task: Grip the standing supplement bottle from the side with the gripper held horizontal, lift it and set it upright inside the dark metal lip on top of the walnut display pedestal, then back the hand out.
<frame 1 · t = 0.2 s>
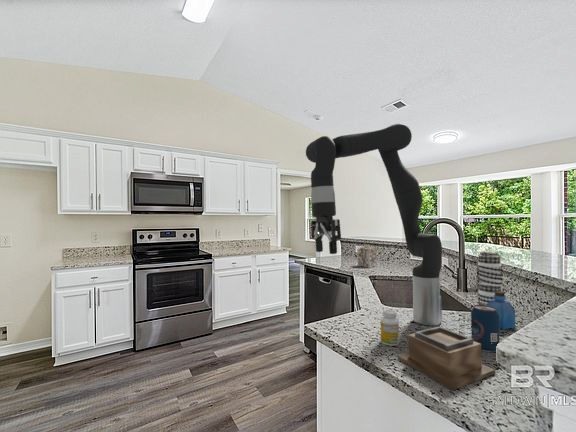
hand: (326, 252, 89), 28 cm above the counter, tool pointing down, fingers open, 8 cm apart
decorative jar: (367, 266, 239), on the counter
soda can: (485, 348, 85), on the counter
display pedestal: (443, 366, 74), on the counter
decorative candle: (490, 312, 118), on the counter
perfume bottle: (500, 325, 103), on the counter
supplement bottle: (389, 343, 89), on the counter
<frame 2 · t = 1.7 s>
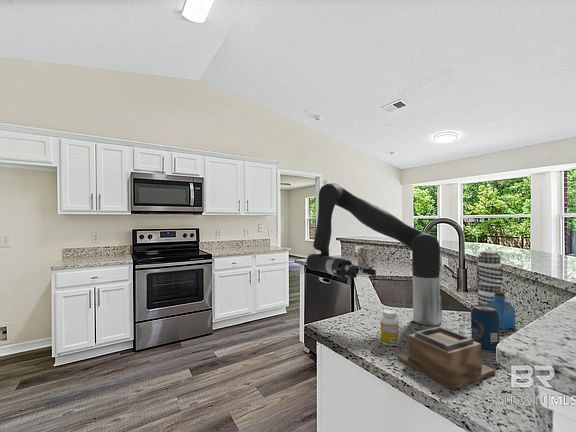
hand: (365, 273, 99), 20 cm above the counter, tool horizontal, fingers open, 8 cm apart
nothing on the counter moved.
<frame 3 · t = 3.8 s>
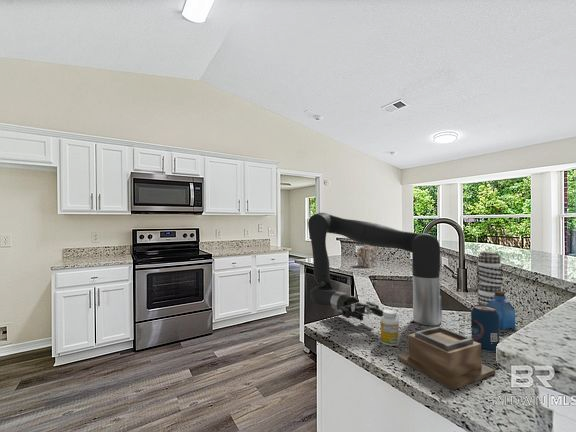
hand: (372, 315, 96), 6 cm above the counter, tool horizontal, fingers open, 8 cm apart
nothing on the counter moved.
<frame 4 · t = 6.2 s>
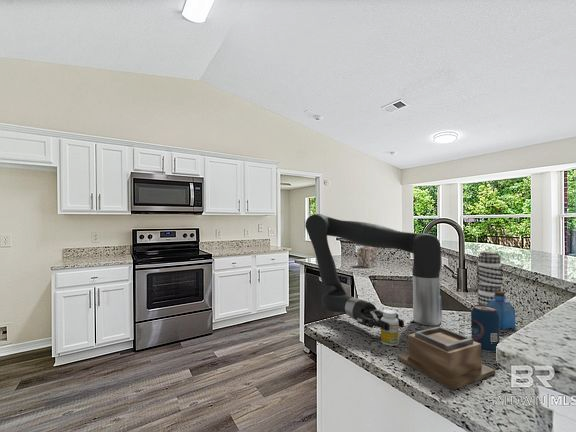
hand: (395, 325, 87), 6 cm above the counter, tool horizontal, fingers closed on supplement bottle, 5 cm apart
supplement bottle: (389, 343, 89), on the counter, touching gripper
everything else where it was.
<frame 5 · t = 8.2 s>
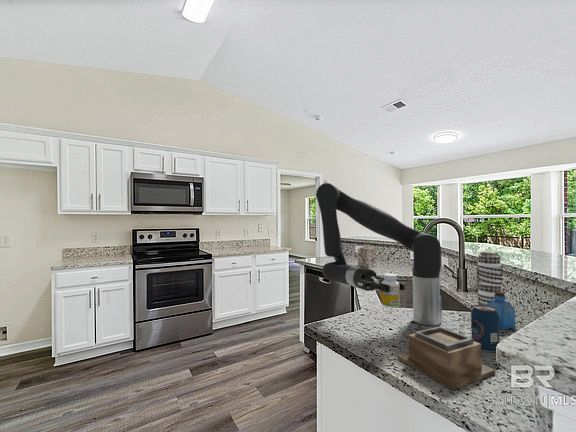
hand: (396, 288, 87), 18 cm above the counter, tool horizontal, fingers closed on supplement bottle, 5 cm apart
supplement bottle: (390, 306, 89), point 11 cm above the counter, touching gripper
everything else where it was.
when the fingers open (14 cm above the counter, at t = 10.7 s): supplement bottle drops 1 cm, resting on display pedestal.
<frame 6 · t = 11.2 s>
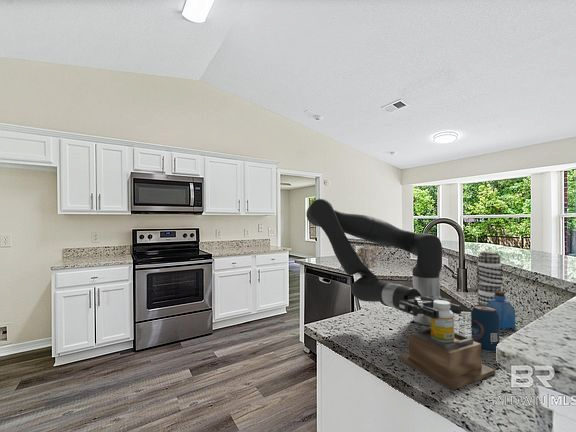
hand: (449, 312, 73), 15 cm above the counter, tool horizontal, fingers open, 8 cm apart
supplement bottle: (442, 339, 74), point 7 cm above the counter, touching display pedestal
everything else where it was.
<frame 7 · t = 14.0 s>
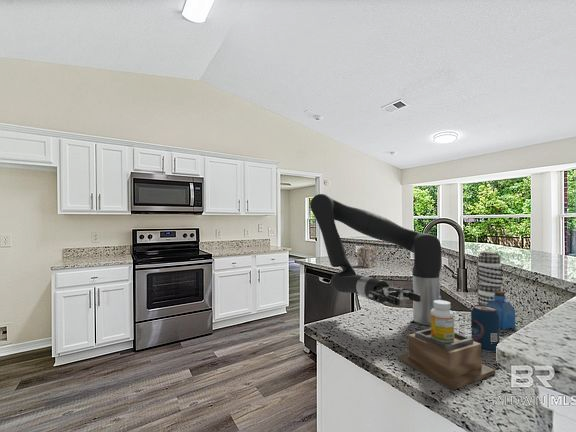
hand: (409, 300, 84), 14 cm above the counter, tool horizontal, fingers open, 8 cm apart
nothing on the counter moved.
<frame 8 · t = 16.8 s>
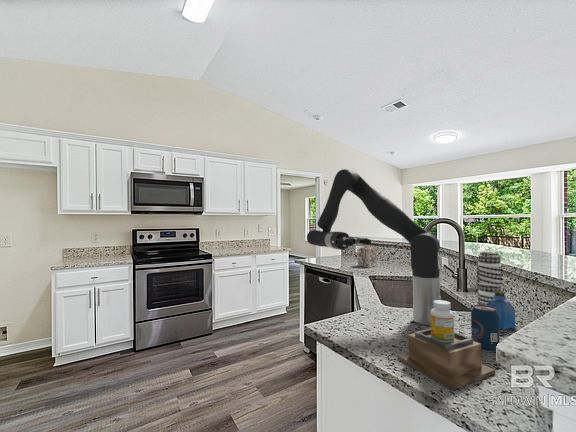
hand: (361, 242, 108), 30 cm above the counter, tool horizontal, fingers open, 8 cm apart
nothing on the counter moved.
at the end: supplement bottle 0.2 cm off-centre on the display pedestal, point 6.8 cm above the display pedestal's base; supplement bottle tilted 0°; the gripper is holding nothing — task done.
